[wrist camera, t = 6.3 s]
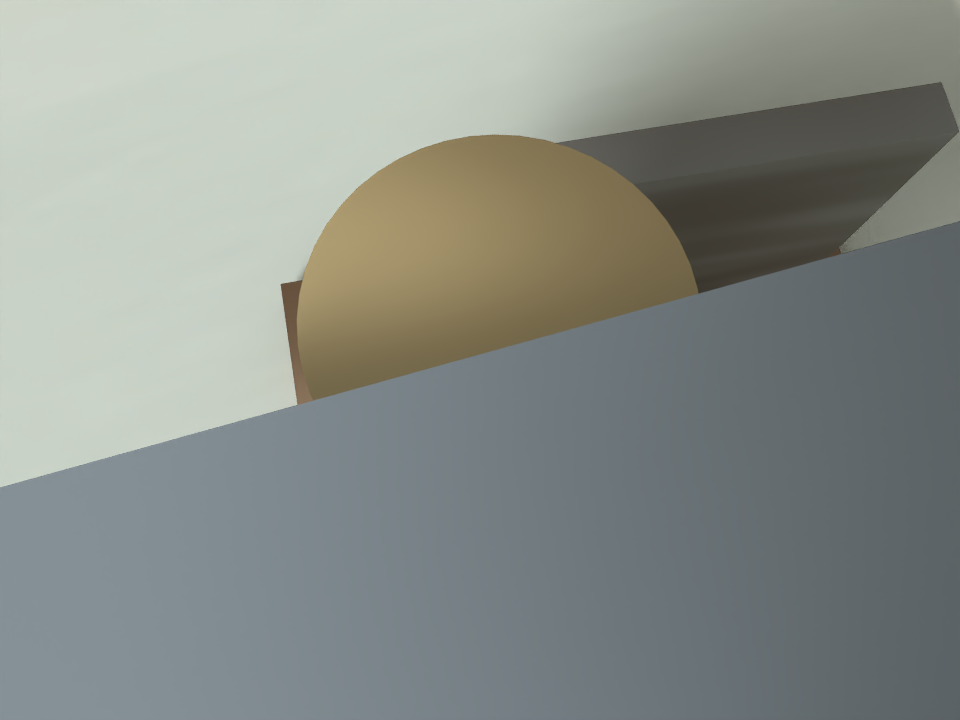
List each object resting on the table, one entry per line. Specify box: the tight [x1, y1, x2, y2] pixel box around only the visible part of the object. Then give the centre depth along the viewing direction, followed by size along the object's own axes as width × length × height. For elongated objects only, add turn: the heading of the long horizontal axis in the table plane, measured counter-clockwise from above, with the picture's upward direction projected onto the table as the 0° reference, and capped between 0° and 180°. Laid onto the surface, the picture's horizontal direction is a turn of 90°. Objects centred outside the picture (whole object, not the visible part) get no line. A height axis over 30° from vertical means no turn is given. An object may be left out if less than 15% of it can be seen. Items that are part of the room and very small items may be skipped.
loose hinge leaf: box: [0, 135, 960, 720], centre depth 9 cm, size 6×5×12 cm
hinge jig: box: [281, 82, 959, 405], centre depth 17 cm, size 16×14×11 cm
